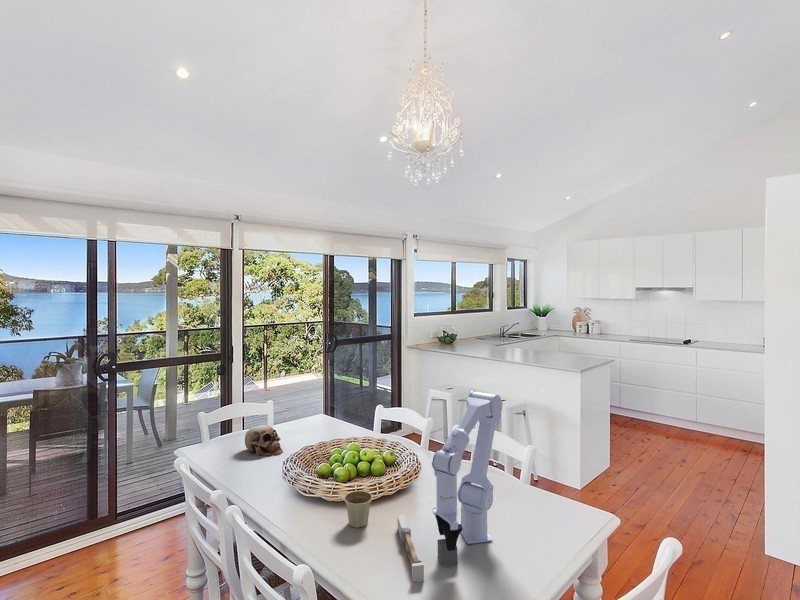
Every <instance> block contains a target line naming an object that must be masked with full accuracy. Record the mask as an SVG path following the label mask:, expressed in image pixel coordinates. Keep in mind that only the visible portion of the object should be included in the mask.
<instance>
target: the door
mask: <svg viewBox="0 0 800 600" xmlns="http://www.w3.org/2000/svg"><path fill="white" fill-rule="evenodd" d="M404 548H405V551H406V554H407V557H408V560H409V563H410V567H411V568H412V564H413V563H421V562H422V560H419V558H418V554H417V552H416V550H415V546H414V543H413V541H412V537H411V538H410V535H409V534H405V547H404Z"/></svg>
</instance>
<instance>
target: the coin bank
mask: <svg viewBox="0 0 800 600" xmlns="http://www.w3.org/2000/svg"><path fill="white" fill-rule="evenodd" d="M280 441H281V438H280V436H279V434H278V433H277V430H276V429H274V428H273V427H272V426H270V425H269V424H268V425H267V424H258V425H256V426H253V427H251V428H249V429H248V430H247V431H246V433H245V436H244V445H245V448H246V449H247V450H249V451H250V452H252V453H255V454H256V456H258V455H259V456H261V455H262V457H264V456H263V455H267V456H266V457H269V456H268V455H274V456H278V455H279V454H280V455H281V453H282V454H283V453H284V451H283V449H282V448H281V444H280Z"/></svg>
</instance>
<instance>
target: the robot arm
mask: <svg viewBox="0 0 800 600" xmlns="http://www.w3.org/2000/svg"><path fill="white" fill-rule="evenodd" d="M502 400H503V399H502V398H501V396H500V395H499V394H494V393H487V392H480V391H477V390H471V391H470V393H469V394H468V396H467V398H466V404H465V405H466V411H465V413H464V415H463V417H462V419H461V421H460V423H459V425H458V427H457V428H456V429H453V430H452V431H451V432H450V434H449V436H448V437H447V439H446V441H445V443H444V444H443V446H442V448H441V449H439V450H437V451H436V452H435V453H434V454H433V457H432V461H431V467H432V469H433V471H434V472H433V474H434V477H435V478H436V481H435V482H436V486H435V487H436V507H434V508H432V514H433V515H434V517H435V520H436V523H437V529H438V534H439V536H444V539H445V541H446V547H447V550H448V551H452V550H455V548H456V545H458V544H457V543H458V539H459V536H460V535H461V536H462V537H463V539H464V541H465V542H466V544H468V545H470V544H471V545H472V544H480V543H487V542H488V543H489V542H493V538H492V537H491V535H490V533H489V532H488V511H490V509H491V507H492V506H493V502H494V485H493V484H492V483H491V481H490V480H489V478H488V477H487V475H488V474H487V473H488V469H489V464H490V457H491V453H492V446H493V443H494V436H495V430H496V426H497V423H499V422H500V421H501V416H502V411H503V404H504V403H503V401H502ZM478 422H479V424H478V425H479V426H478V429H477V436H476V440H475V446H474V451H473V457H472V460H471V461H472V462H471V467H470V472H469V473H468V474H466V475H464V476H463V477H462V478H461V481H460V484H459V486H458V483H457V482H458V481H457V479H458V478H457V474H458V473H459V471H460V470H461V466H462V461H463V454H464V452H465V451H466V448H467V447H468V445H469V442H470V441H471V439H470V437H469V435H470V434H471V432H472V430H473V429H474V427H475V426H476V424H477V423H478ZM457 486H458V488H457ZM457 489H458V490H457ZM458 502H459V503H460V504H461V507H460V523H459V521H458V515H459V514H458V513H459V510H458Z"/></svg>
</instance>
